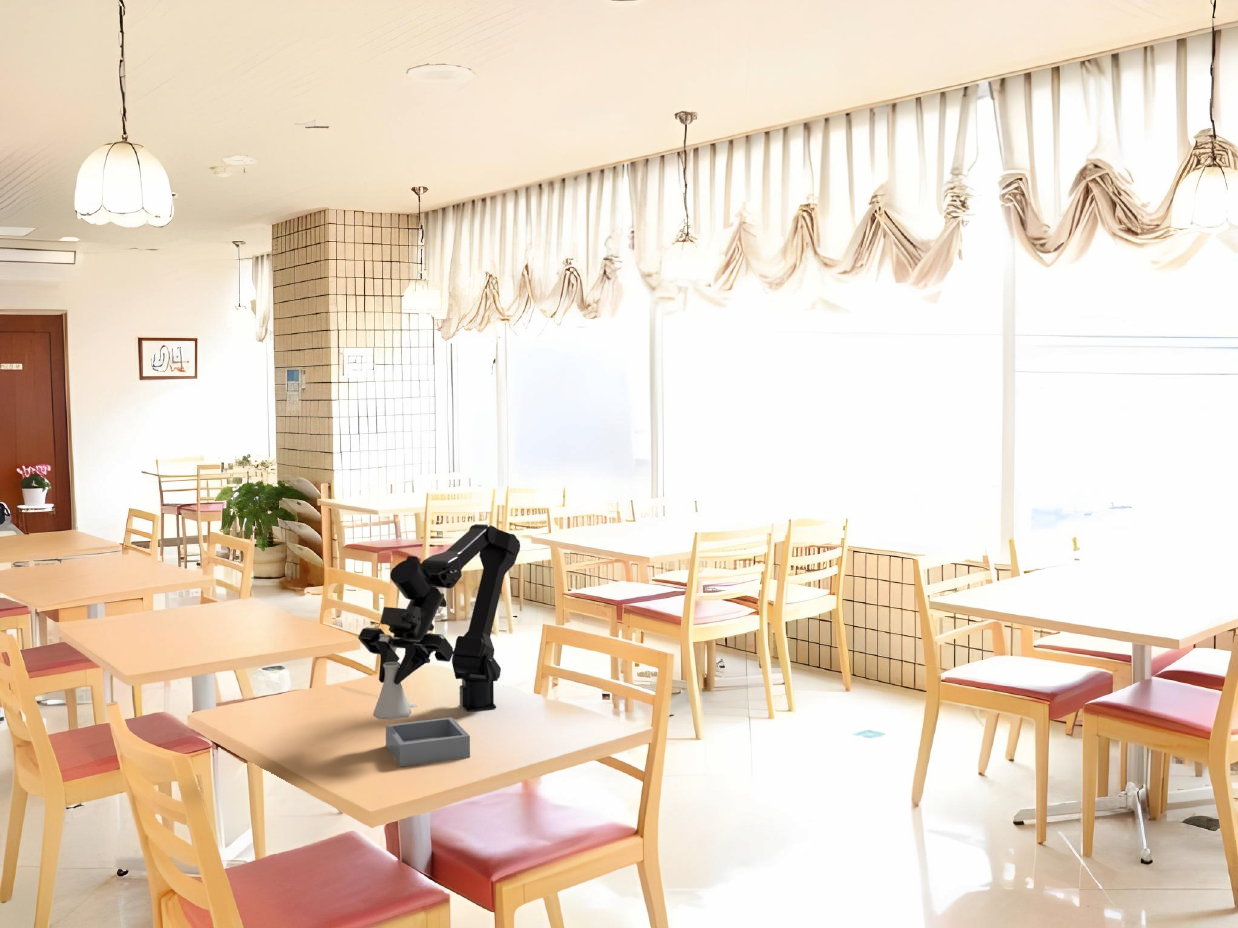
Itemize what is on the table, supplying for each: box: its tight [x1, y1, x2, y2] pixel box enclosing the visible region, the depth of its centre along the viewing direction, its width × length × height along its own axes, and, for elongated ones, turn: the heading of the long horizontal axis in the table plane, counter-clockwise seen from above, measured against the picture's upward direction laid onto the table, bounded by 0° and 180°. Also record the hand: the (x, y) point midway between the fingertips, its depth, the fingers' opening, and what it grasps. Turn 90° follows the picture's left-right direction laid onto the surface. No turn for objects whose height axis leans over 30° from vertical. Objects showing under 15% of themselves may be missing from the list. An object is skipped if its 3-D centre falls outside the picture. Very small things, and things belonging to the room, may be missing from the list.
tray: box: [385, 716, 471, 768], centre depth 198 cm, size 13×13×4 cm
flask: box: [372, 661, 412, 721], centre depth 199 cm, size 7×7×10 cm
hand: (388, 682), depth 197 cm, fingers closed on flask, 3 cm apart
